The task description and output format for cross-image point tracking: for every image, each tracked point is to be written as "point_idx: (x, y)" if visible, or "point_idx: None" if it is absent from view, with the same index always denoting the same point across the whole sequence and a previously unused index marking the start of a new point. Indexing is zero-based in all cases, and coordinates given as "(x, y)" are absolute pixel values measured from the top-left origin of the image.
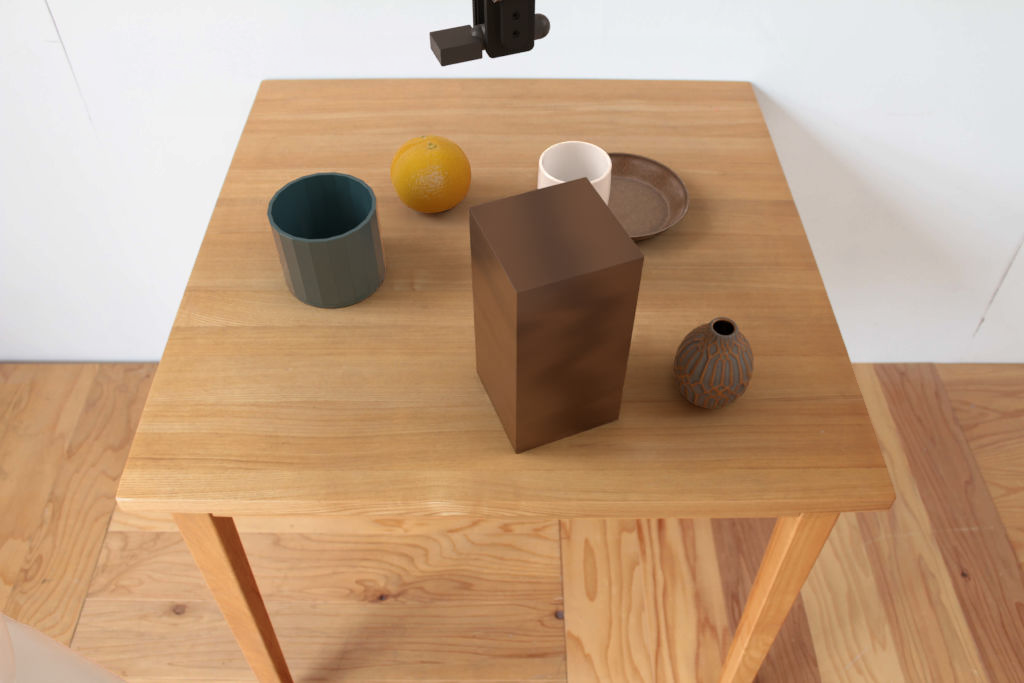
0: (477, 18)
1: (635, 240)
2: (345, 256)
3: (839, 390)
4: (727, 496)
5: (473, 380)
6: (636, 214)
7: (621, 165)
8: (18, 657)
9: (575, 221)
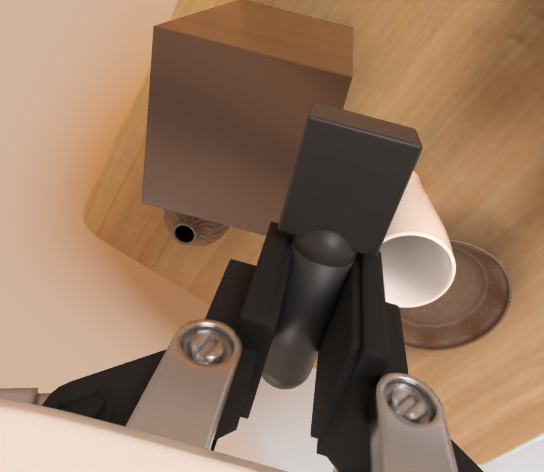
0: (356, 280)
1: None
2: None
3: (160, 267)
4: (117, 133)
5: (345, 17)
6: None
7: (474, 326)
8: None
9: (236, 180)
